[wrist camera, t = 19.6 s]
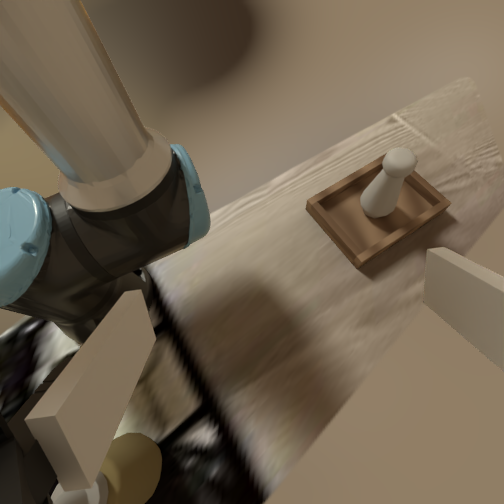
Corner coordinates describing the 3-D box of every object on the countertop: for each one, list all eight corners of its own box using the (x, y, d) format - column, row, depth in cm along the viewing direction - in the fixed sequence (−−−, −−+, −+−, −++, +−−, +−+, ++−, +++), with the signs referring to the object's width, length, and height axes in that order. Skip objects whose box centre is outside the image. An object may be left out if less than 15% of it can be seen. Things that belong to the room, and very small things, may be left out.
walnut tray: (356, 269, 48) (361, 262, 45) (305, 209, 53) (307, 199, 51) (442, 212, 51) (451, 203, 48) (385, 161, 56) (391, 150, 54)
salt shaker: (393, 199, 52) (428, 144, 40) (388, 226, 50) (424, 176, 38) (359, 191, 53) (384, 136, 41) (353, 218, 51) (378, 167, 39)
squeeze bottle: (168, 422, 41) (97, 448, 24) (173, 494, 37) (94, 579, 21) (111, 435, 41) (1, 469, 24) (111, 508, 37) (-18, 605, 21)
